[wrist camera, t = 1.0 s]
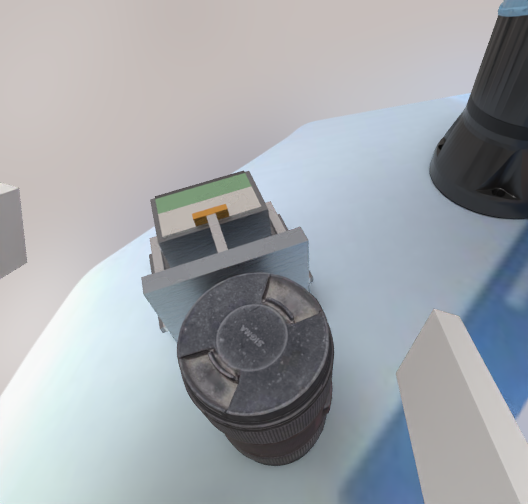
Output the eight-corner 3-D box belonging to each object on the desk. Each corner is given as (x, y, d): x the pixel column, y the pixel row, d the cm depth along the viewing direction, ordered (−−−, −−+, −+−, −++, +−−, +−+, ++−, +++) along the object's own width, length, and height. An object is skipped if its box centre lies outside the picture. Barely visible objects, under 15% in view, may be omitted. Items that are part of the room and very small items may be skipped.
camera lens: (268, 349, 32) (244, 245, 21) (344, 405, 29) (367, 316, 17) (207, 424, 29) (137, 349, 17) (285, 499, 25) (264, 468, 14)
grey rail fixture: (273, 223, 41) (263, 146, 33) (316, 310, 33) (318, 237, 25) (160, 258, 39) (121, 186, 31) (178, 359, 32) (132, 297, 24)
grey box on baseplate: (280, 218, 43) (273, 155, 36) (312, 281, 37) (313, 219, 30) (151, 258, 41) (117, 200, 34) (162, 332, 35) (124, 279, 28)
